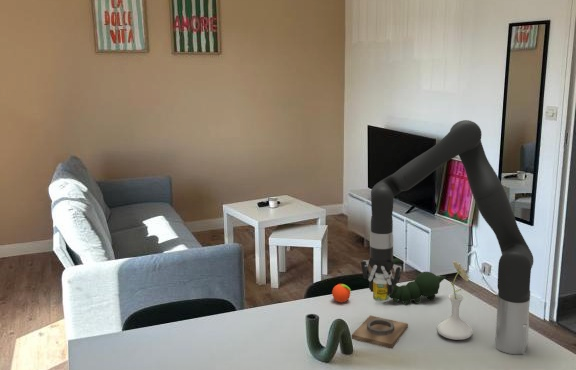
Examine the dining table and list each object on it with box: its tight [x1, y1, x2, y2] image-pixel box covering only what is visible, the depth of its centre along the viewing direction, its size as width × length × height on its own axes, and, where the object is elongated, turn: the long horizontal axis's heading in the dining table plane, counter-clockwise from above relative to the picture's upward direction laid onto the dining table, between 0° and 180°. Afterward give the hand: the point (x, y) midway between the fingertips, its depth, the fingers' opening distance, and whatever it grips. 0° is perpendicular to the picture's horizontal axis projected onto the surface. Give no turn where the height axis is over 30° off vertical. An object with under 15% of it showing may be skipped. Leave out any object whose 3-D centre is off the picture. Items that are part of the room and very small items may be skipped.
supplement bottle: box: [372, 273, 390, 303], centre depth 187 cm, size 5×5×10 cm
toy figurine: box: [389, 257, 447, 306], centre depth 213 cm, size 9×19×25 cm
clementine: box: [331, 283, 352, 303], centre depth 215 cm, size 8×7×7 cm
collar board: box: [351, 315, 409, 349], centre depth 190 cm, size 14×16×3 cm
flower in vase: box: [436, 260, 473, 341], centre depth 186 cm, size 13×11×25 cm
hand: (381, 292), depth 187 cm, fingers closed on supplement bottle, 5 cm apart
